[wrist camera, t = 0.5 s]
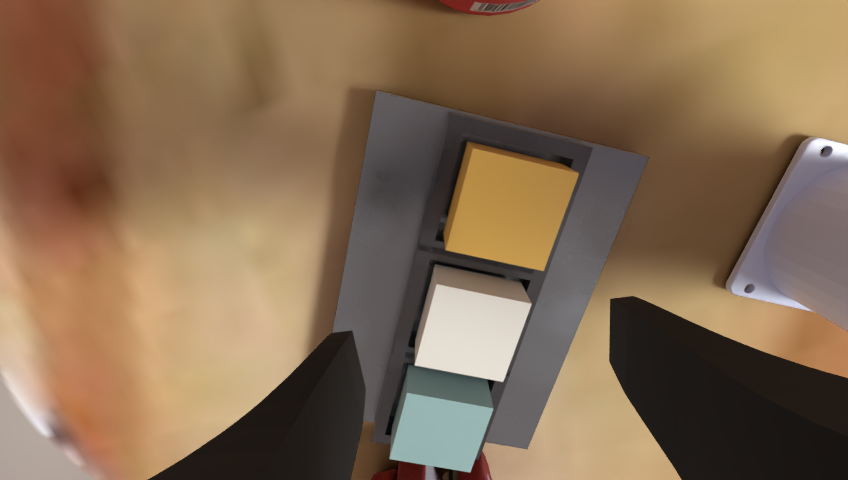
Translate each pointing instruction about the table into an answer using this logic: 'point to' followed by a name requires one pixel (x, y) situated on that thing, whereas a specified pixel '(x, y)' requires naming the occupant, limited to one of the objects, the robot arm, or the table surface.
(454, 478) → the toy fire truck
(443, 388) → the teal button
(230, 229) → the table surface
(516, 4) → the canned food
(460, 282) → the cream button
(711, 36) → the table surface
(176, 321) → the table surface
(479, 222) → the amber button
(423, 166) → the button panel
